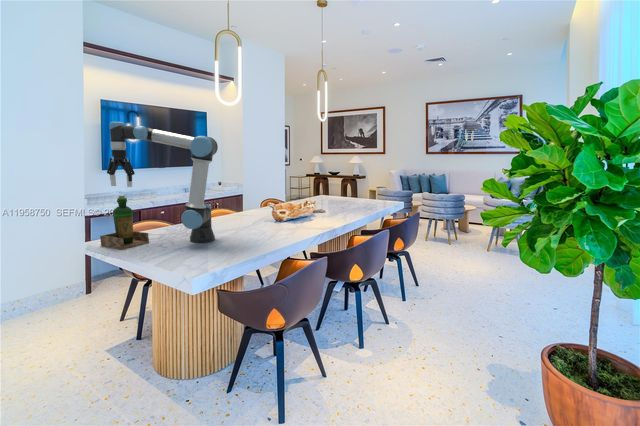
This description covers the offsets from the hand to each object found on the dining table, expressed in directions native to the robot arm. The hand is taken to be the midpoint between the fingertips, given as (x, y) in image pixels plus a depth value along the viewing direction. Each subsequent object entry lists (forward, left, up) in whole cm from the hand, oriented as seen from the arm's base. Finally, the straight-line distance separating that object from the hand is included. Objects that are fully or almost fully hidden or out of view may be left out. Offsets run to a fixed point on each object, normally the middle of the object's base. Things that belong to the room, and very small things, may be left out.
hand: (121, 186), depth 212 cm
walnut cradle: (0, 0, -35) cm, 35 cm away
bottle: (0, 0, -34) cm, 34 cm away
